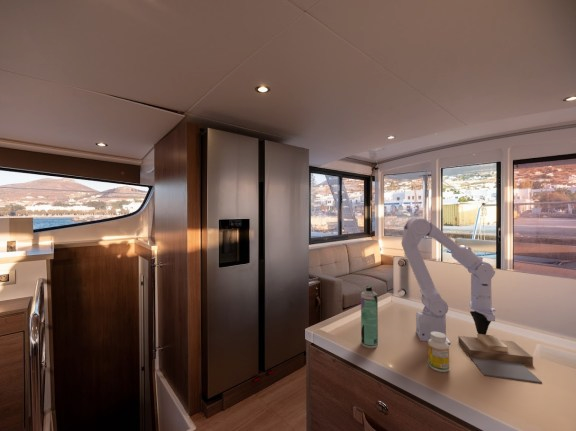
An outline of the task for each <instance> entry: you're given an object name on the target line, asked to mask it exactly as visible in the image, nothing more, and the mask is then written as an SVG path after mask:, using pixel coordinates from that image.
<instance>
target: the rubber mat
mask: <svg viewBox="0 0 576 431" xmlns="http://www.w3.org/2000/svg"><path fill="white" fill-rule="evenodd" d="M470 359H471V360H472V362H473V363H474V365H476V367H477V368H478V369H479V371H480V372H481V374H482V375H483V376H484V377H490V378H491V377H493V378H499V379H508V380H514V381H520V382H521V381H523V382H529V383H535V384H536V383H537V384H543V382H542V380H540V379H539V378H538V377H537V376H536V375H535V374H534V373H533V372H532V371H531V370H530V369H529V368H527V367H526V366H525V365H524V364H521V363H516V362H508V361H499V360H491V359H483V358H475V357H471V358H470Z"/></svg>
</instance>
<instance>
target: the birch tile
mask: <svg viewBox="0 0 576 431" xmlns="http://www.w3.org/2000/svg"><path fill="white" fill-rule="evenodd" d="M476 338H478V339H479V340H480V342H481V343H482V344H483V345H484V346H485V347H486V348H487V349H488V350H494V351H503V352H508V347H507V346H506V345H505V344H504V343H502V342H501V341H500V340H501V339H499V338H498V337H497V336H495V335H492V334H486V335H484V334H478V333H477V334H476Z"/></svg>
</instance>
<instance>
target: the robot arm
mask: <svg viewBox="0 0 576 431" xmlns="http://www.w3.org/2000/svg"><path fill="white" fill-rule="evenodd" d="M424 237H429V238H432V239H434V240H435V241H436V242H437V243H439V244H440V245H441V246H443V247H445V248H446V249H447V250H448V251H450V254H451V257H452V258H453V259H454V260H455V261H456V262H458V263H459V264H460V265H461V266H462V267H464V268H465V269H466V270H467V271H468V273H470V300H469V307H470V309H471V310H470V311H469V313H470V315H471V317H472V319H473V322H474V325H475V330H476V333H477V334H484V335H487V332H488V328H489V326H490V324H491V322H496V315H495V314H494V312H496V311H497V310H496V308H494V307H493V306H492V278H494V276H495V274H496V270H494V268H493V266H492V264H490V263H488V262H485V261H483V257H482V256H479V255H477V254H476V253H475V252H473V251H472V247H470V246H466V245H463V244H462V245H458V244H457V243H456V242H455V241H454V240H453V239H452V238H450V237H449V236H448V235H447V234H446V233H444V231H443V230H441V229H440V228H439V227H437V226H436V225H435V224H433V223H431V222H429V221H428V220H427V219H425V218H421V217H420V218H416V217H413V218H410V219H409V220H408V221H406V224H405V225H404V227H403V234H402V239H401V247H402V248H403V251H404V254H405V255H406V259H407V261H408V263H409V265H410V268H411V269H412V272H413V275H414V277H415V279H416V281H417V284H418V287H419V291H420V294H421V303H422V305H423V306H424V307H423V309H422V311H416V314H415V333H416V334H417V336H418V338H419V341H424V342H428V341H429V339H431V337H430V335H431V332H440V333H443V334H445V335H446V342H447V343H448V345H449V344H451V341H450V340H449V338H448V337H447V318H446V317H447V314H448V311H449V306H448V303H447V301H445V300H444V299H443V298H442V295H441V294H440V293H439V291H438V289H437V288H436V286H435V284H434V282H433V279H432V277H431V275H430V272H429V270H428V268H427V265H426V263H425V260H424V259H423V256H422V254H421V252H420V249H419V247H418V246H419V244H420V242H421V240H422V239H423V238H424Z"/></svg>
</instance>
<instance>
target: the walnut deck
mask: <svg viewBox="0 0 576 431" xmlns="http://www.w3.org/2000/svg"><path fill="white" fill-rule="evenodd" d="M457 338H458V340H457V342H458V344H459V345H460V347H461V348H462V349H463V351H464V352H465V353H466V354H467V356H468V357H469V358H470V359H471V357H475V358H483V359H491V360H499V361H508V362H516V363H521V364H523V365H524V366H525V365H526V366H534V356H532V355H531V354H530V353H529V352H527V351H526V350H525V349H523V348H522V347H521V346H520V345H518V344H517V343H516V342H515V341H513V340H505V339H504V340H503V339H499V340H500V341H501V342H502V343H504V344H505V345H506V346H507V347H508V352H503V351H494V350H488V349H487V348H486V347H485V346H484V345H483V344H482V343H481V342H480V340H479V339H478V338H477V336H475V337H474V336H465V335H458V336H457Z"/></svg>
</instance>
